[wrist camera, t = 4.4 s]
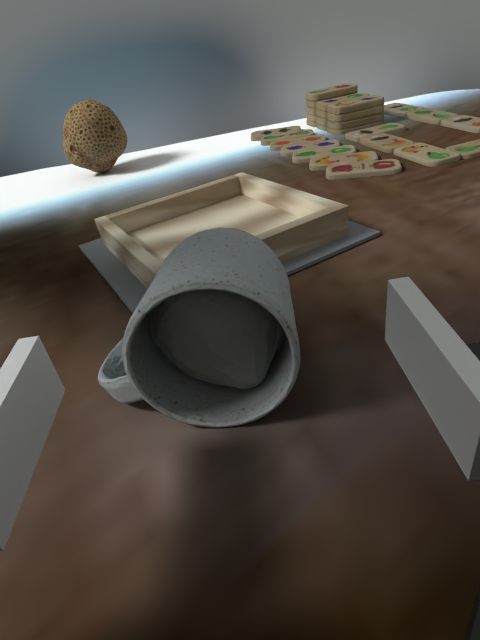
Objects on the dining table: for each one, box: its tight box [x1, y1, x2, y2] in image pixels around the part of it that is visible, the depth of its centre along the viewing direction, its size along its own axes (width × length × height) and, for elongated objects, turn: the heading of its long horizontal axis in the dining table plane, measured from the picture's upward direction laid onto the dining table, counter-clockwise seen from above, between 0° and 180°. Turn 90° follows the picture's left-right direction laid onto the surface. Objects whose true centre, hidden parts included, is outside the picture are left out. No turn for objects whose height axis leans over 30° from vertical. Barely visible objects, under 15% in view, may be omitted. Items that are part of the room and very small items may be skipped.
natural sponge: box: [63, 99, 127, 173], centre depth 64 cm, size 9×9×10 cm
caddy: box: [95, 173, 349, 289], centre depth 38 cm, size 16×16×2 cm
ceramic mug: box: [98, 228, 301, 427], centre depth 22 cm, size 11×8×8 cm
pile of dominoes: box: [251, 84, 480, 180], centre depth 60 cm, size 35×27×6 cm
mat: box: [79, 220, 381, 313], centre depth 38 cm, size 19×20×1 cm
